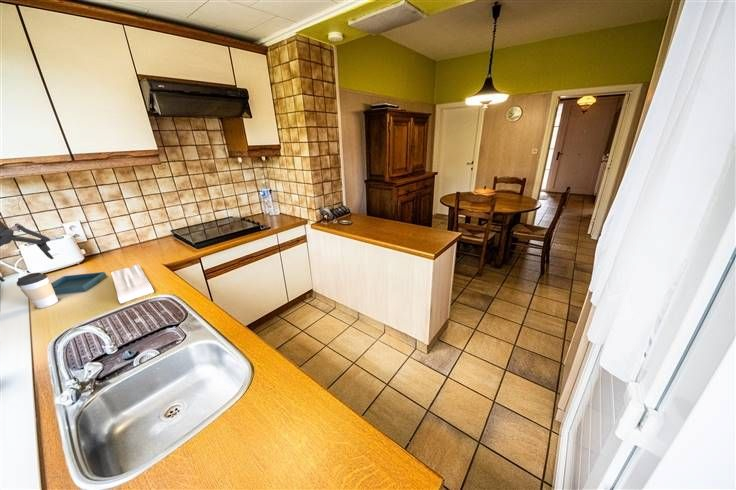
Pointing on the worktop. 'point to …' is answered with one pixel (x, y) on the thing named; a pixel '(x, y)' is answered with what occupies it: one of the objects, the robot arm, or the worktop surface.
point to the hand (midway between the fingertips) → (27, 268)
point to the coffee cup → (37, 289)
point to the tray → (77, 283)
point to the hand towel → (131, 283)
